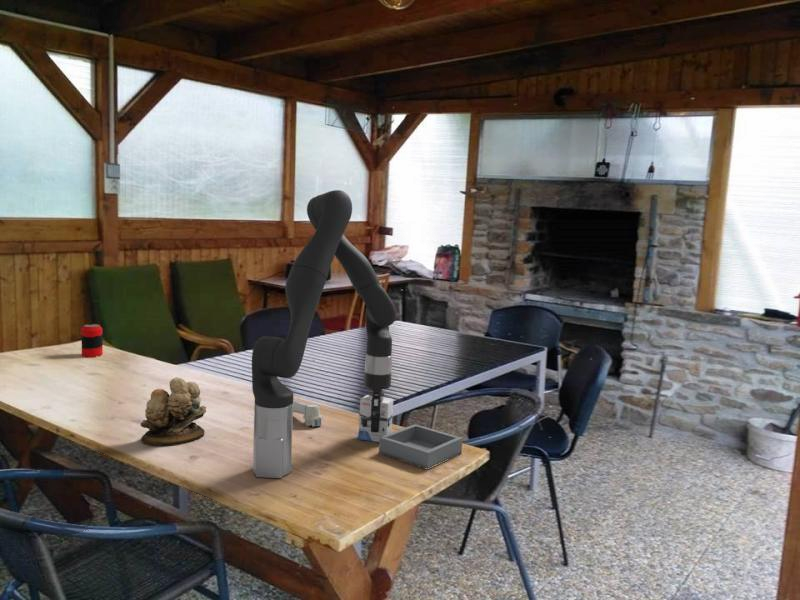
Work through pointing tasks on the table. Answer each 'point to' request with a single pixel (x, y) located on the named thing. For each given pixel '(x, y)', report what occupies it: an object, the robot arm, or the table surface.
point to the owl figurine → (173, 415)
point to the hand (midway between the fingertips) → (375, 427)
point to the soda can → (92, 340)
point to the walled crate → (420, 446)
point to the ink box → (384, 421)
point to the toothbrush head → (308, 413)
